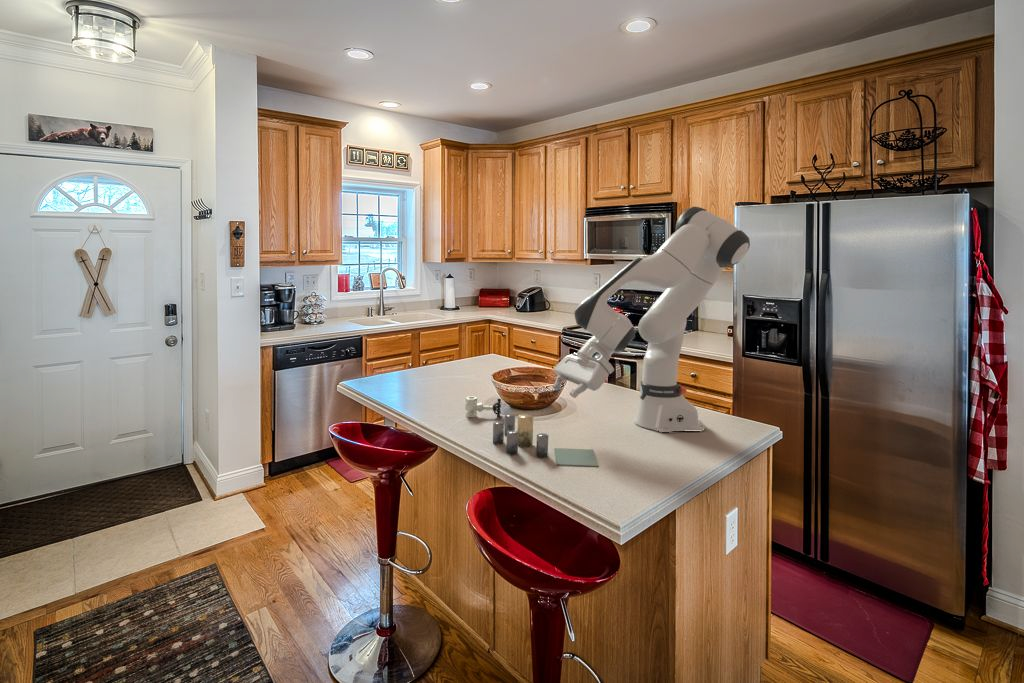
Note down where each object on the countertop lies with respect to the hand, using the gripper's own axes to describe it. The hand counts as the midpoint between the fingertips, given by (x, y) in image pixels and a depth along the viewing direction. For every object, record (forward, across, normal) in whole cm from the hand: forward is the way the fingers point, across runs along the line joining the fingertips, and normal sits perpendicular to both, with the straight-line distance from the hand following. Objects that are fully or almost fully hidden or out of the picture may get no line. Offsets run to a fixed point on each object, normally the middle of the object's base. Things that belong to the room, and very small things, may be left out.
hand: (563, 392), depth 160 cm
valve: (+19, -30, +2) cm, 36 cm away
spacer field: (+21, -1, -1) cm, 21 cm away
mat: (+14, +14, +7) cm, 21 cm away
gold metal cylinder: (+19, 0, +2) cm, 19 cm away
